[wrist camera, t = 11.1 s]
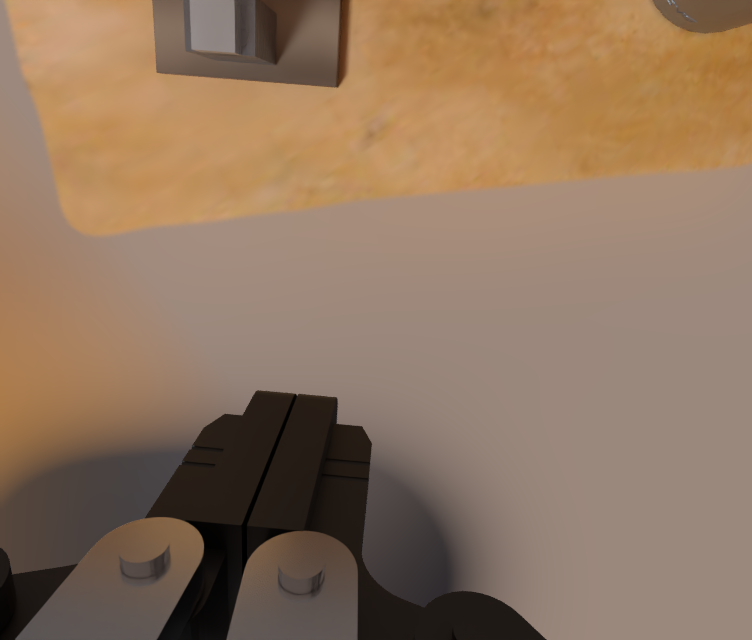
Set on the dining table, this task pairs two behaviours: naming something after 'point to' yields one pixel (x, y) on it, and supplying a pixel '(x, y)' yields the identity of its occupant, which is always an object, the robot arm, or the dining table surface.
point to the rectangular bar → (231, 30)
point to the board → (293, 45)
